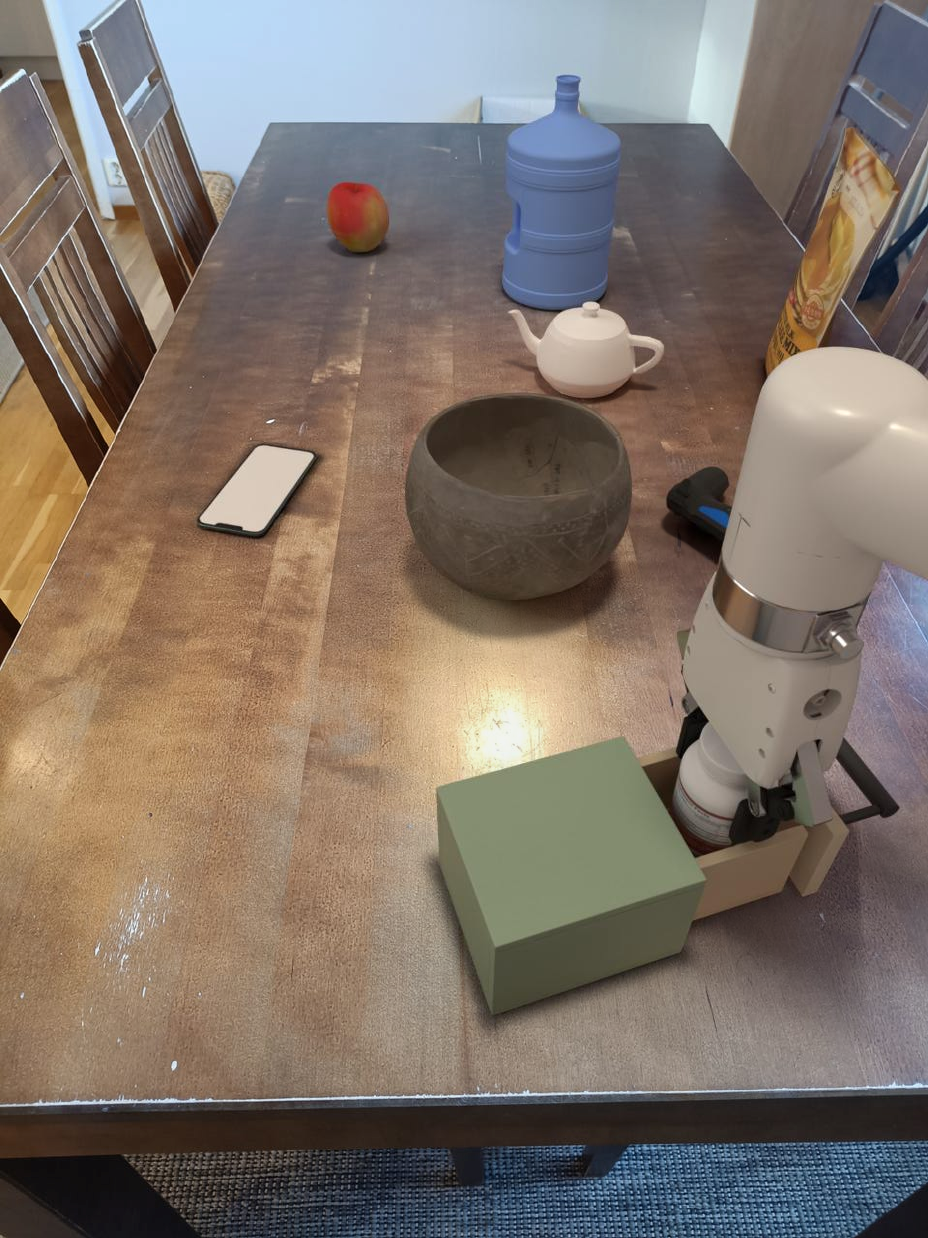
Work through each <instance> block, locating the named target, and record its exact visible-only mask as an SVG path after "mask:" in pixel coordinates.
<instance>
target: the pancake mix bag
mask: <svg viewBox="0 0 928 1238" xmlns="http://www.w3.org/2000/svg"><path fill="white" fill-rule="evenodd" d="M901 192H902V190H901V187H900V185H899V183H898V181H897V179H896V176H895V174H894V173H893V171H892V170H891V169H890V167H889V165H887V163H885V162H884V161H883V159H882V158H881V157H880V155H879V153H878V152H877V150H876V149H875V147H873V145H872V144H871V143H870V142H869V141H868V140H867V139H865V137H864V135H862V134H861V133H860V132H859V131H858V130H857V129H856V128H855V127H854V126H850V127H847V128H843V135H842V141H841V145H840V149H839V153H838V156H837V159H836V162H835V166H834V169H833V172H832V174H831V178H830V181H829V184H828V187H827V190H826V193H825V196H824V199H823V202H822V204H821V208H820V210H819V214H818V217H817V221H816V225H815V227H814V230H813V231H812V234H811V236H810V238H809V241H808V243H807V245H806V247H805V250H804V253H803V254H802V256H801V260H800V262H799V264H798V268H797V269H796V272H795V276H794V279H793V281H792V284H791V288H790V290H789V291H788V295H787V298H786V300H785V303H784V306H783V308H782V311H781V314H780V316H779V319H778V321H777V325H776V327H775V329H774V332H773V335H772V337H771V339H770V341H769V345H768V347H767V351H766V356H765V372H766V378H767V377H768V376H769V375H770V373H771V372H772V371H773V370H774V369H775V368H776V367H777V366H778V365H779V364H780V363H782V362H783V361H784V360H786V359H787V358H789V357H791V356H793V355H796V354H798V353H801V352H804V351H807V350H811V349H816V348H824V347H829V344H830V342H831V341H830V340H831V337H832V333H833V328H834V323H835V319H836V315H837V314H836V313H837V308H838V306H839V304H840V302H841V300H842V298H843V296H844V294H845V293H846V292H847V290H848V288H849V286H850V284H851V281H852V280H853V277H854V275H855V273H856V271H857V269H858V268H859V266H860V264H861V262H862V260H863V258H864V256H865V254H866V253H867V252H868V249H869V248H870V246H871V244H872V243H873V241H874V239H875V238H876V237H877V235H878V233H879V232H880V230H881V229H882V227H883V226H884V224H885V222H886V220H887V219H888V217H889V215H890V214H891V213H892V211H893V210H894V209H895V207H896V206H897V203H898V200H899V198H900V195H901Z"/></svg>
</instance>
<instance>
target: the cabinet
mask: <svg viewBox="0 0 928 1238" xmlns="http://www.w3.org/2000/svg"><path fill="white" fill-rule="evenodd" d="M637 758H638V757H637V756H636V754H635V753H634V751H633V749H632V747H631V745H630V743H629V742H628V741H627V739H626V737H625V736H624V735H622V736H618V737H614V738H611V739H607V740H604V741H601V742H600V741H599V742H596V743H593V744H588V745H585V746H581V747H578V748H574V749H571V750H567V751H563V752H560V753H555V754H552V755H549V756H544V757H542V758H537V759H535V760H531V761H527V762H524V763H520V764H515V765H513V766H509V767H505V768H501V769H498V770H494V771H490V772H487V773H482V774H479V775H476V776H471V777H468V778H465V779H460V780H457V781H454V782H450V783H446V784H442V785H439V786H437V787H435V790H436V791H435V799H436V800H435V801H436V821H437V841H438V842H437V843H438V844H437V845H438V862H439V867H440V871H441V872H442V873H441V874H442V875H443V879H444V881H445V885H446V888H447V891H448V893H449V895H450V898H451V902H452V904H453V907H454V911H455V913H456V916H457V919H458V923H459V925H460V927H461V930H462V934H463V937H464V939H465V942H466V945H467V948H468V950H469V954H470V957H471V959H472V962H473V965H474V968H475V971H476V973H477V977H478V980H479V982H480V985H481V989H482V991H483V993H484V994H483V995H484V997H485V1001H486V1003H487V1006H488V1008H489V1011H490V1015H491V1016H496V1015H498V1014H499V1015H500V1014H502V1013H505V1012H509V1011H511V1010H513V1009H517V1008H519V1007H523V1006H525V1005H528V1004H531V1003H534V1002H537V1001H540V1000H544V999H545V998H549V997H552V996H556V995H558V994H561V993H564V992H567V991H570V990H573V989H576V988H580V987H581V986H585V985H589V984H591V983H594V982H597V981H600V980H603V979H606V978H609V977H611V976H615V975H618V974H620V973H624V972H626V971H629V970H632V969H635V968H639V967H641V966H644V965H647V964H650V963H653V962H656V961H659V960H661V959H665V958H667V957H671V956H673V955H677V954H679V953H682V950H683V948H684V945H685V942H686V941H687V937H688V935H689V932H690V929H691V926H692V923H693V921H694V920H693V918H694V915H695V912H696V910H697V907H698V904H699V901H700V899H701V896H702V893H703V890H704V887H705V884H706V881H707V879H706V877H705V875H704V874H703V872H702V870H701V868H700V867H699V865H698V863H697V861H696V860H695V858H694V856H693V855H692V853H691V851H690V849H689V848H688V846H687V844H686V842H685V841H684V839H683V837H682V836H681V834H680V832H679V830H678V829H677V827H676V825H675V823H674V822H673V820H672V818H671V816H670V815H669V813H668V811H667V810H666V808H665V806H664V804H663V803H662V801H661V799H660V797H659V796H658V794H657V792H656V791H655V789H654V787H653V785H652V784H651V782H650V780H649V778H648V777H647V775H646V773H645V772H644V770H643V768H642V766H641V765H640V763H639V761H638V759H637Z"/></svg>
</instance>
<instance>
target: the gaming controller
mask: <svg viewBox="0 0 928 1238" xmlns="http://www.w3.org/2000/svg"><path fill="white" fill-rule="evenodd" d="M729 487H730V480H729V477H728V474H727V473H726V471H724V470H723V469H722V468H720V467H718V466H706V467H703V468H701V469H699V470H698V471H696V472H695V473H693V474H691V475H690V476H688V477H686V478H684V479H683V480H681V481H680V482H678V483H676V484H674V485H673V486H672V487H671V489H670V490H668V493H667V495H666V497H665V503H666V508H667V509H668V510H669V511H670V512H672V514H674V515H675V516H676V517H681V518H682V519H684V520H686V521H689V522H692V523H694V524H696V525H697V526H696V527H697V528H698V529H699V530H701V531H702V532H704V533H707V534H710V535H712V536H713V537H715V538H717V539H718V540H719V541H721V542H722V543H723V542H724V538H725V534H726V530H727V526H728V522H729V518H730V514H731V510H732V506H733V505H730V504H727V503H724V502H721V501H719V500H720V499H721V498H722V496H723V495H724V494H725V493H726V491H727V489H728V488H729Z"/></svg>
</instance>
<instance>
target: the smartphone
mask: <svg viewBox="0 0 928 1238" xmlns="http://www.w3.org/2000/svg"><path fill="white" fill-rule="evenodd" d="M317 459H318V455H317V453H316V452H315V451H313V450H310V449H303V448H297V447H288V446H282V445H276V444H271V443H259V444H257V445H255V446H254V447H253V448H252V449H251V450H250V452H249V453H248V454H247V456H245V458H244V459H243V460H242V462H241V463H240V464H239V465H238V466H237V468H236V469H235V470H234V471H233V473H232V474H231V476H230V477H229V478H228V479H227V481H226V482H225V483H224V484H223V485H222V486H221V488H220V489H219V491H217V493H216V494H215V496H214V497H213V498H211V501H209V503H208V504H207V505H206V507H205V508H204V509H203V510H202V511H201V513H200V514H199V515H198V517H196V523H197V525H198V526H199V527H200V528H204V529H210V530H214V531H219V532H220V531H221V532H225V533H232V534H237V535H243V536H249V537H260V536H263V535H264V534H266V533H267V532H268V530H269V529H270V527H271V526H272V524H273V523H274V522H275V520H276V518H277V517H278V516H279V514H280V513H281V511H282V510H283V508H284V507H285V506H286V504H287V502H288V501H289V500H290V499H291V496H293V493H294V492H295V491H296V489H297V488H298V486H300V484H301V482H302V481H303V479H305V477H306V475H307V473H308V472H309V471H310V469H311V468H312V467H313V464H315V462H316V461H317Z"/></svg>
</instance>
